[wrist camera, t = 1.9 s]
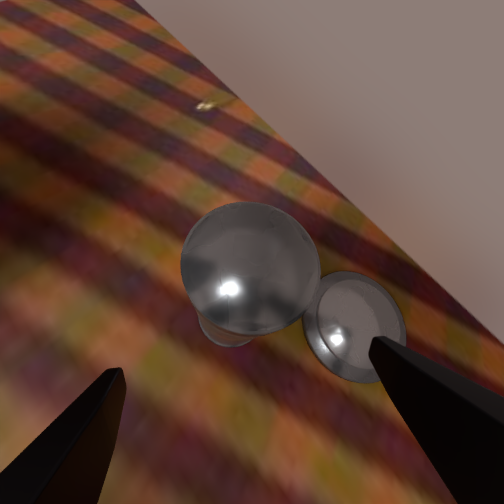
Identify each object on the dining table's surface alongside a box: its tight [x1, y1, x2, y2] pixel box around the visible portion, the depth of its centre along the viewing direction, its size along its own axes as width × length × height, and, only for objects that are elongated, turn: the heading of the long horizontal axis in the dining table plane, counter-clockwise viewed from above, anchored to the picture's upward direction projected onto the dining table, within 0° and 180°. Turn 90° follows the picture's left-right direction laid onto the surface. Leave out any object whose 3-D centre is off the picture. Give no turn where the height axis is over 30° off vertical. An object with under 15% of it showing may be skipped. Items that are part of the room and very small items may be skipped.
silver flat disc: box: [302, 271, 406, 383], centre depth 20 cm, size 9×9×1 cm
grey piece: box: [181, 202, 321, 347], centre depth 14 cm, size 5×5×12 cm
